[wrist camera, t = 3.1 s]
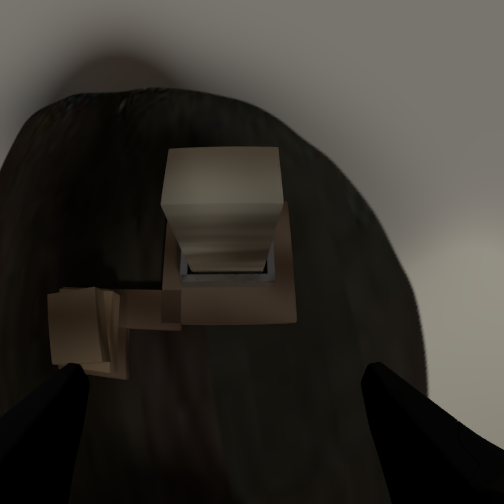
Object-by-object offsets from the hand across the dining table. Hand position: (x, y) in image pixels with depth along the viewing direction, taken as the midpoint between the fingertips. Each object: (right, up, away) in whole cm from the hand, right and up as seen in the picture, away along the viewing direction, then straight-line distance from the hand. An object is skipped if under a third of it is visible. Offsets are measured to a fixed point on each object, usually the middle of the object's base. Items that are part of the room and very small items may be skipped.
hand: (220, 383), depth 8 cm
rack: (-6, +1, +14) cm, 15 cm away
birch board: (-1, +3, +15) cm, 15 cm away
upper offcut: (-12, -2, +10) cm, 16 cm away
